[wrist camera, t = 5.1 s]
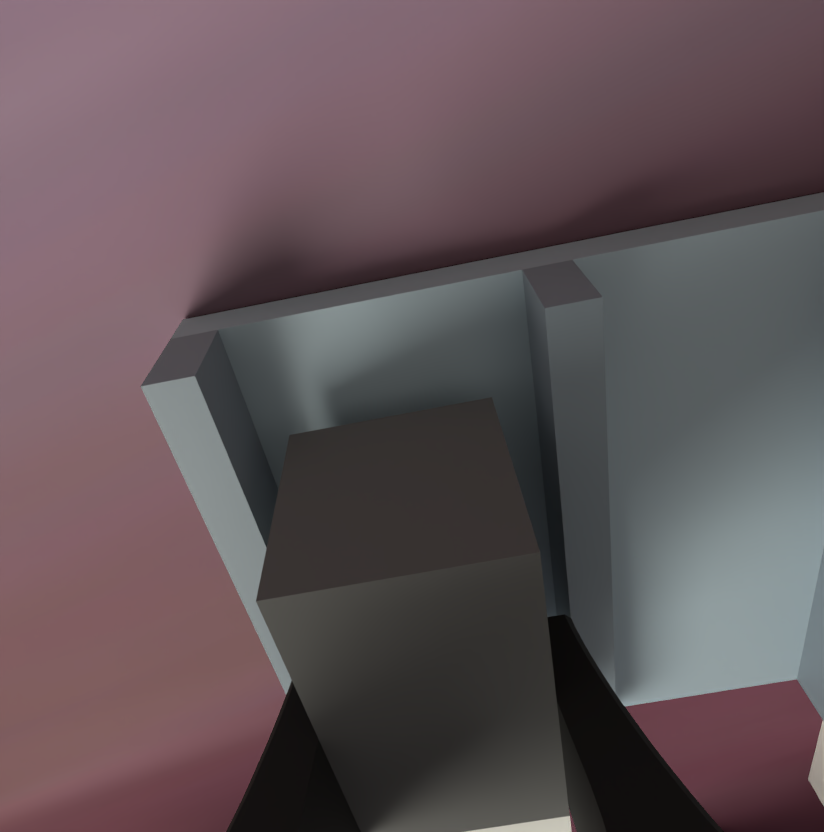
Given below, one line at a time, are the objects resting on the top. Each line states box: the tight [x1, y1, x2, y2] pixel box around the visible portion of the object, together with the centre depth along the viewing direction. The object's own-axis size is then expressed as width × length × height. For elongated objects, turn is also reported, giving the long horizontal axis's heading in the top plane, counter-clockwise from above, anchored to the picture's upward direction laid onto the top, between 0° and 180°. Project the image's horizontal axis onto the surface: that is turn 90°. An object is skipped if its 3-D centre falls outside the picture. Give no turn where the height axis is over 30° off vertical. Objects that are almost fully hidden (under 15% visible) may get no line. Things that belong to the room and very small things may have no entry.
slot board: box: [141, 192, 824, 721], centre depth 13 cm, size 12×12×2 cm
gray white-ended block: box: [256, 397, 571, 832], centre depth 11 cm, size 8×3×4 cm, turn 11°
